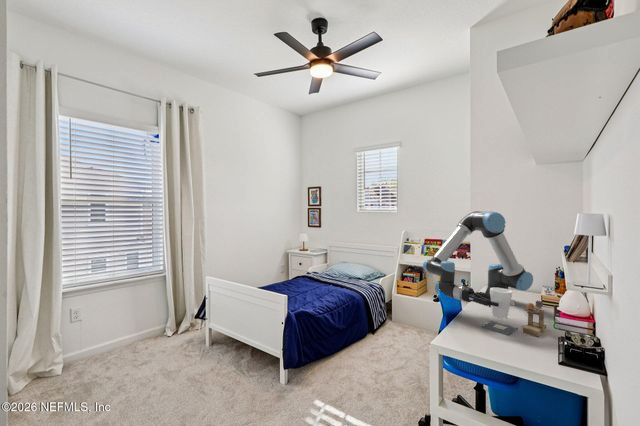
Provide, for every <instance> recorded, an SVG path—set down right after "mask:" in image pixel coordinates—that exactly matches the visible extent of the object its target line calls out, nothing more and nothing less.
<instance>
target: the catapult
mask: <svg viewBox="0 0 640 426" xmlns="http://www.w3.org/2000/svg"><path fill="white" fill-rule="evenodd" d="M543 306H544V301H542V300H541V301H540V300H536V301H535V305H534V304H533V303H531V302H529V303H527V304H526V308H525V309H524V312H526V314H527V315H528V316H527V325H525V326H523V327H522V333H523V334H525V335H529V336H533V337H536V338H539V337H540V336H541V335H542V334H543V333H545V332H546V331H547V328H548V327H547V326H548V325H547V324H545V323H544V322H545V310H542V309H543ZM534 315H537V316H538V322H536V321H534Z"/></svg>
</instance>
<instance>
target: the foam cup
mask: <svg viewBox="0 0 640 426" xmlns="http://www.w3.org/2000/svg"><path fill="white" fill-rule="evenodd" d="M490 296H491V302H492V300H494V301H498V302H503V303H507V309H502V308H498V307H494V306H492V305H491V314H492V316H493V317H494V318H497V319H504V320H505V319H508V315H509V311H510V310H509V309H510V306H511V305H510V301H511V299H512V298H513V291H512V290H510V289H509V288H508V289H503V288H490Z"/></svg>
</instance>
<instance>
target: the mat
mask: <svg viewBox="0 0 640 426" xmlns="http://www.w3.org/2000/svg"><path fill="white" fill-rule="evenodd" d="M482 328H484V329H487V330H489V331H493V332H496V333H500V334H501V335H502V334H503V335H506V336H510V335H512V334H514V333H515V332H516V331H518V329H519V328H518V327H516V326H513V325H512V326H511V325H509V324H505V323H502V322H498V321H495V320H490V321H488V322H487V323H485V324H483V325H482Z"/></svg>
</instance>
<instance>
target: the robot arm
mask: <svg viewBox="0 0 640 426" xmlns="http://www.w3.org/2000/svg"><path fill="white" fill-rule="evenodd" d="M505 228H506V219H505V217H504V216H503V215H502V214H501V213H499V212H496V211H479V210H478V211H477V210H476V211H472V212H470V213H468V214H466V215H465V216H464V217H463V218H461V219H460V220H459V222H458V223H457V224H456V228H455V229H454V231H453V232H452V233H451V234H450V235H449V236H448V238H447V239H446V240H445V242H444V243H442V245H441V246H440V248H439V249H438V250H437V251H436V253H435V254H434V255H433V257H431V259H426V260H424V262H423V265H422V268H423V270H424V271H425V272H427V273H429V274H432V275H436V276H438V277H439V280H438V281H436V282H435V285H434V291H435V293H436V294H437V295H439V294H438V291H440V290H441V291H440V292H443V293H444V294H445V295H446V296H445V297H447V296H448V297H449V298H452V299H456V300H458V301H464V302H468V303H477V304H479V305H482V306H485V307H488V308H492V306H494V307H498V308H502V309H507V303H503V302H498V301H494V300H492V302H491V296H490V288H503V289H508V290H509V288H511V289H515V290H517V291H523V292H525V291H528V290H529V289H530V288H531V286H533V282H534V275H533V274H532V272H530V271H527V270H525V268H524V265H522V264H521V263H519V262H518V260H517V258H516V256H515V254H514V252H513V250H512V248H511V246H510V243H509V241H508V240H507V238H506V235H505V234H504V232H505ZM476 231H478V232H481V234H482V236H483V237H484V238H486V239H488V242H489V244H490V245H491V247H492V249H493V251H494V254H495V255H496V257H497V258H498V261H499V262H500V263H490V264H489V265H488V270H487V287H486V290H485V292H483V291H476V292H475V291H474V288H472V287H469V286H464V285H459V284H455V274H456V266H455V265H456V264H455V262H453V261H449V259H450V258H451V257H452V255H453V254H454V253H455V251H456V250H458V248H459V247H460V245H462V243H463V242H464V241H465V239H467V237H468V236H470V235H471V234H473V233H474V232H476ZM439 289H440V290H439ZM491 305H492V306H491ZM510 306H515V299H512V298H511V301H510Z"/></svg>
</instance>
